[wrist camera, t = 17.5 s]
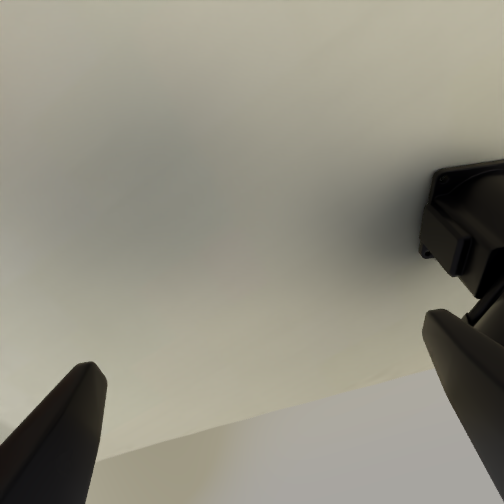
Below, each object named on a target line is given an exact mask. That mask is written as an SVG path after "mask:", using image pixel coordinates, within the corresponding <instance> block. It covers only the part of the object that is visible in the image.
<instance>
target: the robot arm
mask: <svg viewBox="0 0 504 504" xmlns="http://www.w3.org/2000/svg"><path fill="white" fill-rule="evenodd" d="M442 176H445V178H444V179H443V180H441V181H440V178H441V177H442ZM419 238H420V240H421V242H420V247H419V253H420V255H421V256H422V257H423V258H425V259H429V258H436V260H437V261H438V262H439V263H440V265H441V266H442V267H443V268H444V270H445V271H446V272H447V273H448V274H449V275H450V276H451V277H457V276H458V278H459V279H460V280H461V281H462V282H463V284H464V285H465V286H466V287H467V288H468V290H469V291H470V292H471V293H472V294H473V296H474V297H475V298H476V299H480V300H479V301H478V302H477V304H476V305H475V306H474V307H473V309H472V310H471V311H470V312H469V313H466V314H465V315H464V316H463V318H462V319H460V318H458V317H457V316H455V315H454V314H452V313H451V312H449V311H447V310H445V309H436V310H430V311H428V312H427V313H426V316H425V320H424V325H423V329H422V336H423V340H424V342H425V345H426V347H427V349H428V352H429V354H430V357H431V359H432V362H433V364H434V367H435V369H436V371H437V374H438V376H439V378H440V381H441V384H442V386H443V388H444V391H445V393H446V395H447V397H448V399H449V401H450V403H451V405H452V407H453V409H454V410H455V412H456V414H457V416H458V418H459V420H460V422H461V423H462V425H463V427H464V429H465V431H466V433H467V435H468V436H469V438H470V440H471V442H472V444H473V445H474V448H475V449H476V451H477V453H478V455H479V457H480V459H481V461H482V462H483V464H484V466H485V468H486V470H487V472H488V473H489V475H490V477H491V479H492V481H493V483H494V484H495V486H496V488H497V490H498V492H499V494H500V496H501V497H502V499H503V501H504V160H500V161H493V162H486V163H479V164H473V165H466V166H459V167H452V168H445V169H441V170H438V171H437V172H436V173H435V174H434V175H433V178H432V183H431V188H430V193H429V199H428V204H427V205H426V206H425V208H424V214H423V219H422V225H421V230H420V236H419ZM428 250H429V251H428ZM426 251H428V252H426ZM425 252H426V253H425ZM106 392H107V380H106V377H105V376H104V374H103V373H102V372H101V370H100V369H99V368H98V366H97V365H96V364H95V363H94V362H84V363H79V364H77V365H76V366H75V367H73V369H72V370H71V371H70V372H69V373H68V374H67V375H66V376H65V377H64V378H63V379H62V380H61V381H60V382H59V383H58V385H57V386H56V387H55V388H54V389H53V390H52V391H51V392H50V393H49V394H48V395H47V396H46V397H45V398H44V399H43V400H42V402H41V403H40V404H39V405H38V406H37V407H36V408H35V409H34V410H33V411H32V412H31V413H30V414H29V415H28V416H27V417H26V419H25V420H24V421H23V422H22V423H21V424H20V425H19V426H18V427H17V428H16V429H15V430H14V431H13V432H12V433H11V435H10V436H9V437H8V438H7V439H6V440H5V441H4V442H3V443H2V444H1V445H0V504H85V502H86V498H87V493H88V489H89V485H90V481H91V477H92V473H93V468H94V464H95V460H96V456H97V452H98V447H99V442H100V436H101V429H102V422H103V414H104V407H105V399H106Z"/></svg>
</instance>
